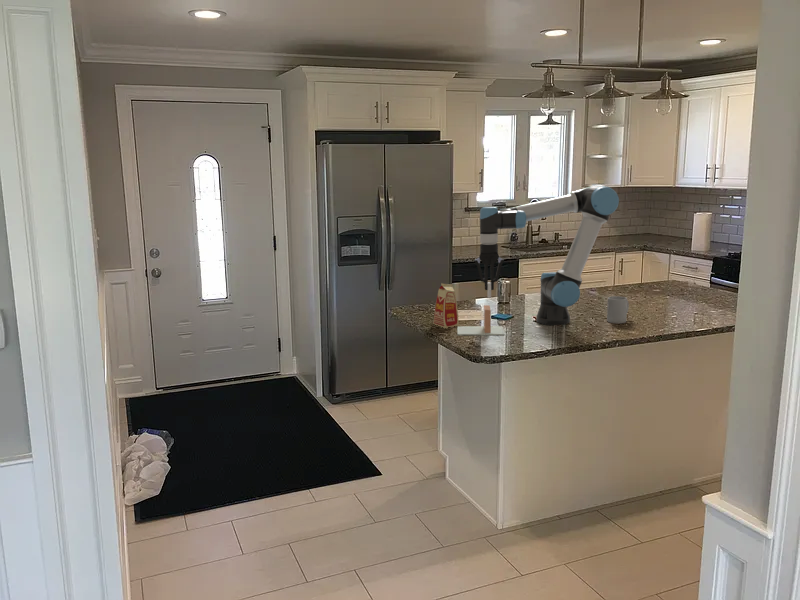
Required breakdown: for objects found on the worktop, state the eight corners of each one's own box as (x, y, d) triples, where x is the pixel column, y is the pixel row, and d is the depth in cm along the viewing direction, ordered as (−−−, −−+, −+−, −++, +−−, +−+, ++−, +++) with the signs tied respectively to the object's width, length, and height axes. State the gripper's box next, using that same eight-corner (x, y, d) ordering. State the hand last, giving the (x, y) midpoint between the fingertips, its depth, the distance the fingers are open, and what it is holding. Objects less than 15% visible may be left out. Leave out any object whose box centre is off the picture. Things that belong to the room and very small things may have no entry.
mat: (502, 327, 305) (502, 326, 304) (504, 335, 291) (504, 333, 291) (457, 327, 306) (457, 326, 306) (457, 335, 293) (457, 333, 292)
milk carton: (445, 328, 305) (444, 284, 301) (432, 325, 313) (431, 282, 309) (460, 325, 311) (460, 282, 307) (447, 322, 318) (447, 279, 314)
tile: (489, 327, 303) (489, 305, 301) (490, 332, 293) (490, 310, 291) (483, 327, 303) (483, 305, 301) (484, 332, 293) (484, 310, 291)
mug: (618, 324, 305) (619, 300, 303) (602, 321, 312) (603, 297, 310) (635, 320, 312) (636, 297, 310) (619, 317, 319) (620, 294, 316)
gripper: (503, 242, 294) (503, 295, 298) (473, 242, 295) (474, 295, 300) (504, 244, 287) (505, 298, 291) (473, 244, 288) (474, 299, 292)
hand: (489, 297), depth 295 cm, fingers closed
